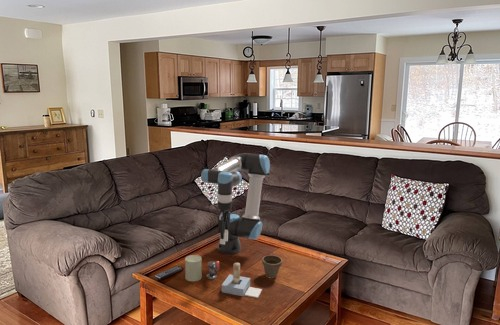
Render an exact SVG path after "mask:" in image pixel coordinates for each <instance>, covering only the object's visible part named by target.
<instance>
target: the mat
mask: <svg viewBox="0 0 500 325" xmlns="http://www.w3.org/2000/svg"><path fill="white" fill-rule="evenodd" d="M262 291H263V288H258V287H252V286H249V288H248V289H247V291H246V293H245V294H244V297H249V298H255V299H258V298H259V297H260V295H261V293H262Z"/></svg>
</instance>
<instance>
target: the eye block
mask: <svg viewBox="0 0 500 325" xmlns="http://www.w3.org/2000/svg"><path fill="white" fill-rule="evenodd" d="M249 287H251V277H246V276H241V275H240V284H239V285H238V284H233V274H230V273H229V274H228V276H227V277H226V279H225V280H224V281H223V283H222V284H221V293H224V294H228V295H234V296H240V297H245V293H246V292H247V290H248V288H249Z"/></svg>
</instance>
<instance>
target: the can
mask: <svg viewBox="0 0 500 325" xmlns="http://www.w3.org/2000/svg"><path fill="white" fill-rule="evenodd" d="M184 261H185V263H184V264H185V267H184V269H185V270H184V272H185V277H184V278H185V280H186V281H189V282H198V281H200V280H201V279H202V277H203V275H202V256H201V255H199V254H190V255H187V256H186V257H185V258H184Z"/></svg>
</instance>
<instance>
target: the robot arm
mask: <svg viewBox="0 0 500 325" xmlns="http://www.w3.org/2000/svg"><path fill="white" fill-rule="evenodd" d="M270 161H271V160H270V158H269V157H268V156H267V155H265V154H259V153H249V152H248V153H247V152H243V153H238V154H236V155H233V156H231V157H230V158H228V160H227V161H225V162H223V163H221V164H219V165H217V166H216V167H214V168H212V169H209V168H205V169H203V170H202V171H201V174H200V178H201V179H200V180H201V181H202V182H203V183H207V184H215V185H217V194H216V196H217V209H219V215H218V216H217V222H218V224H217V229H218V230H217V232H218V234H219V242H218V245H217V250H218V252H220V253H221V254H225V255H234V254H235V255H236V254H238V253H239V252H241V251H242V245H241V241H240V239H239V238H244V239H249V240H257V239H258V238H259V237H260V235H261V233H262V230H263V222H262V221H261V218H260V216H259V211H260V204H261V196H262V188H263V180H264V178H266V175H267V174H269V173H270V169H271V162H270ZM239 171H243V172H244V171H245V172H247V175H248V177H249V179H248V180H249V181H248V188H247V194H246V205H245V211H244V214H242V216H241V218H240V215H239V214H238V213H237V214H236V213H232V212H231V211H232V210H231V209H232V206H233V193H232V192H233V188H234V187H236V186H238V185H239V184H240V183H241V182H242V178H243V177H242V174H241V173H240V172H239Z"/></svg>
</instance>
